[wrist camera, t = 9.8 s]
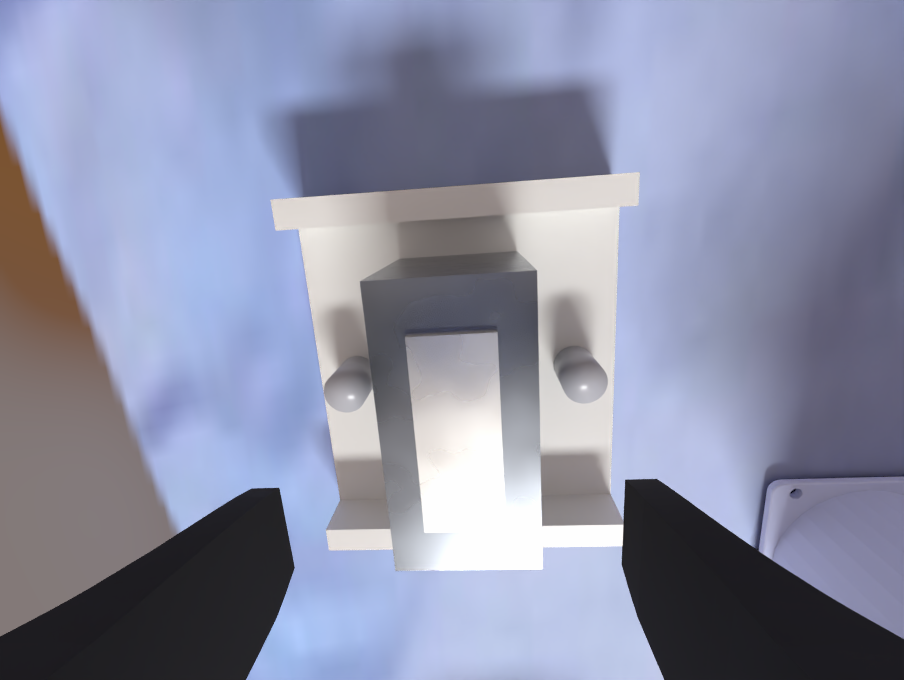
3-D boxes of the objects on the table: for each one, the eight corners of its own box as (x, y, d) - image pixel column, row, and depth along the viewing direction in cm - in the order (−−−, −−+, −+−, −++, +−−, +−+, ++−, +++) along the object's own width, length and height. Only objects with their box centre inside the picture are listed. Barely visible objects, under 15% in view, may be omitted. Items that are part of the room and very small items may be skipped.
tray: (612, 179, 17) (639, 172, 14) (603, 499, 21) (623, 546, 18) (304, 201, 18) (270, 199, 15) (349, 505, 22) (329, 550, 19)
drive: (517, 250, 17) (537, 271, 11) (523, 462, 19) (542, 573, 13) (399, 258, 17) (358, 282, 11) (420, 466, 20) (394, 574, 14)
